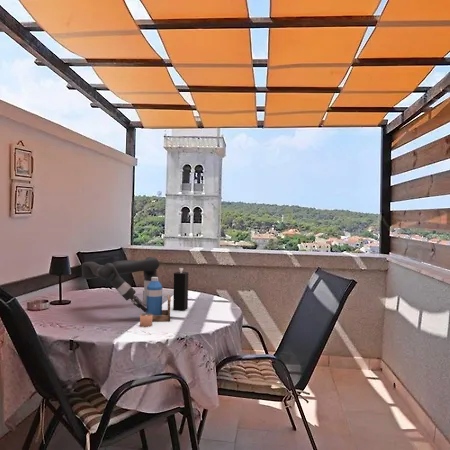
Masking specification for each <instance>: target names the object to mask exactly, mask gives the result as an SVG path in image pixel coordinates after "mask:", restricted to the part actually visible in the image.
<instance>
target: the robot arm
mask: <svg viewBox="0 0 450 450" xmlns="http://www.w3.org/2000/svg"><path fill="white" fill-rule="evenodd" d="M159 267H160V261H159V260H158V258H156V257H153V256H147V257H146V258H145V259H142V260H135V259H134V260H133V259H132V260H131V259H130V260H129V259H125V260H116V261H114V262H106V264H99V263H97V262H96V261H85V262H82V263H81V276H82V279H84V280H90V279H97V278H100V279H101V280H102V281H106V280H108V279H109V278H110V277H111V276H113V278H112V279H111V281H110V285H111V286H112V287H113V288H114V289H115V290H116V291H117V292H118V294H119V295H120V296H122V298H123V299H124V300H126V301H129V300H130V301H131V303H132V304H133V306H135V307H137V308H138V309H140V310H142V311H143V312H144V313H146V311H147V286H148V284H149V283H150V282H151V277H158V274H157V270H158V269H159ZM137 272H138V273H139V272H143V280H144V281H143V286H144V287H143V290H142V300H141V299H140V298H139V296H137V295H135V294H136V291H137V290H135V289H134V288H133V287H132V286H131V285H130V284H129V283H127V282H126V280H124V278H123V277H121V275H126V274H131V273H137ZM158 278H159V277H158Z"/></svg>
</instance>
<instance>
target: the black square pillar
mask: <svg viewBox="0 0 450 450" xmlns="http://www.w3.org/2000/svg"><path fill="white" fill-rule="evenodd" d="M178 269H179V271H175V272H174V273H173V298H172V299H173V300H172V304H173V305H172V309H173V311H180V312H181V311H186V310H187V309H188V308H189V306H188V305H189V303H188V302H189V271H184V267H179V268H178Z"/></svg>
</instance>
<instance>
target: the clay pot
mask: <svg viewBox="0 0 450 450" xmlns="http://www.w3.org/2000/svg"><path fill="white" fill-rule="evenodd" d="M142 326H144V328H149V327H152V326H153V322H152V314H148V313H146V312H144V313H141V314H139V327H142ZM148 326H149V327H148Z"/></svg>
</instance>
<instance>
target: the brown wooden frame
mask: <svg viewBox="0 0 450 450" xmlns="http://www.w3.org/2000/svg"><path fill="white" fill-rule="evenodd" d="M166 297H167V309H162V315H152V323H154V322H155V323H156V322H157V323H158V322H171V302H172V300H171V299H172V298H171V295H170V294H168V295H167V296H166Z"/></svg>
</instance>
